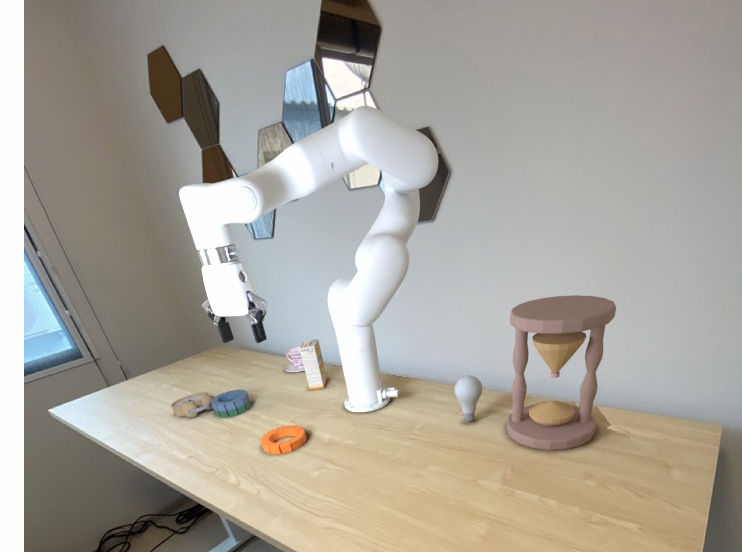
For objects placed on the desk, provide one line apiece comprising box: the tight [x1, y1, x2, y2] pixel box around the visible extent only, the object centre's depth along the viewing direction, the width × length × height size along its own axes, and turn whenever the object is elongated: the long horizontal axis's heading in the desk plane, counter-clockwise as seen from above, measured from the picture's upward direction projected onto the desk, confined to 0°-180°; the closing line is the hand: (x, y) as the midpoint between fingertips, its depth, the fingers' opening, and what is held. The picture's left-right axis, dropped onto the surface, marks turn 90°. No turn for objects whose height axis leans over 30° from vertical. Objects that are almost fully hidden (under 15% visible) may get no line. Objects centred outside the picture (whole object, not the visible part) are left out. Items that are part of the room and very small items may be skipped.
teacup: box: [284, 345, 305, 373], centre depth 146 cm, size 12×12×6 cm
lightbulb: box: [454, 375, 483, 423], centre depth 93 cm, size 6×6×11 cm
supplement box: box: [300, 338, 328, 390], centre depth 127 cm, size 8×5×13 cm, turn 179°
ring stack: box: [211, 389, 252, 418], centre depth 122 cm, size 11×11×4 cm
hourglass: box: [506, 294, 617, 451], centre depth 81 cm, size 18×18×25 cm
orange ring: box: [260, 424, 307, 455], centre depth 100 cm, size 11×11×2 cm
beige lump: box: [170, 392, 214, 419], centre depth 125 cm, size 11×5×15 cm
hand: (244, 341), depth 94 cm, fingers open, 9 cm apart
